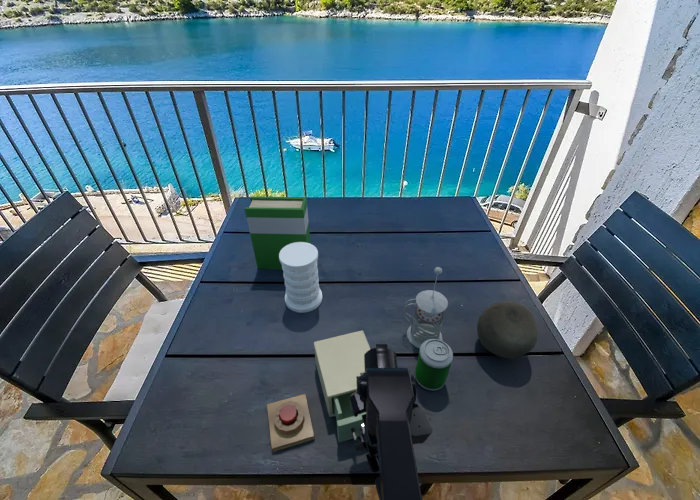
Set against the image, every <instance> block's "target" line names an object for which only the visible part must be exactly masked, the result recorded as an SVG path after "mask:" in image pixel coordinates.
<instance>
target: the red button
mask: <svg viewBox="0 0 700 500" xmlns="http://www.w3.org/2000/svg"><path fill="white" fill-rule="evenodd" d="M280 418H281V421H282V422H283V423H284V424H286V425H289V424H292V423H294V422H295V420H296V419H297V411H296V408H295V407H294V406H293V405H285V406H284V407H283V408H282V409H281V410H280Z"/></svg>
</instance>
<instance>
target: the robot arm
mask: <svg viewBox="0 0 700 500" xmlns="http://www.w3.org/2000/svg"><path fill="white" fill-rule="evenodd" d="M397 359H398V358H397V353H396V351H394V350H393V349H391V348H390V347H388V343H376V344H375V347H373V348H370V350H369V351H367V352H366V353H365V354H364V368H365V373H360V376H356V385H357V392H354V393H353V394H352V395H351V396H350V405H351V409H352V412H353V415H354V417H357V416H358V413H362V412H365V411H366V414H364V415H362V421H363V424H362V427H361V429H360V430H359V435H360V436H359V437H360V441H362V444H363V447H364V448H365V449H364V450H365V451H366V452H367V453H366V454H365V457H366V460H367V463H368V464H367V465H368V467H369V470H370V472H371V473H374V474H375V473H378V472H379V477H377V478H376V479H375V480H374V485H375V491H376V494H377V496H378V500H423V496H422V495H423V494H422V491H421V485H420V478H419V473H418V467H417V462H416V461H417V460H416V454H415V450H414V449H415V448H414V445H416V444H424V443H425V441H427V439H428V438H429V437H430V436H431V435H432V433H433V427H432V425H431V423H430V421H429V419H428V417H427V414H426V412H425V410H424V409H423V408H422V407H421V405H420V403H417V402H416V401H417V384H416V382H417V381H416V378H415V375H413V374H411V371H410V369H409V368H408V367H407V368H406V367H399V366H398V360H397Z"/></svg>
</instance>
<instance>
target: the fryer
mask: <svg viewBox="0 0 700 500" xmlns="http://www.w3.org/2000/svg"><path fill="white" fill-rule="evenodd" d="M313 349H314V358H315V365H316V370H317V373H318V378H319V381H320V386H321V389H322V390H321V391H322V394H323V397H324V401H325V402H324V403H325V406H326V409H327V414H328V417H329V418H332V417H336V416H335V412H334V408H333V405H332V397H336V396H339V395H343V394H346V393H350V392H353V391H357V385H356V376H360V373H365V368H364V354H365V353H366V352H367V351H369V350H370V349H371V347H370V344H369V341H368V339H367V337H366V335H365V332H364V330H357V331H354V332H349V333H344V334H341V335H337V336H333V337H329V338H324V339H320V340H316V341H313Z"/></svg>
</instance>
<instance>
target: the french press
mask: <svg viewBox="0 0 700 500" xmlns="http://www.w3.org/2000/svg"><path fill="white" fill-rule="evenodd" d="M433 273H434V274H435V276H436V277H435V281H434V286H433V290H432V289H426V290H422V291H420V292H418V293H417V294H416V297H415V298H412V299H411V298H410V299H407V301H406V302H405V303H404V308H403V310H402V311H403V312H402V314H403V317H404V319H406V321H408V322H409V323H411V325H409V326H408V329H407V330H406V337H407V339H408V341H409V343H410V344H412V345H413V346H414V347H416V349H417V348H418V349H420V347H421V345H422V344H423V343H424V342H425V341H427V340H430V339H437V340H441V341H443V333H442V332H441V330H442V328H443V323H444V311H446V310H447V308H448V306H449V302H448V299H447V298H446V296H445V295H444V294H442V293H441V292H439V291H436V290H435V289H436V285H437V280H438V275H441V274H442V273H443V269H442V267H440V266H436V267H435V268H434V269H433ZM410 301H415V302H411V303H409V302H410ZM408 303H409V304H408ZM410 305H414V308H415V310H414V313H413V316H411V315H410V314H409V313H408V312H407V309H406V308H407V307H408V306H410ZM406 315H407V316H409V318H412V321H411V320H410V319H408V318H407V317H406Z"/></svg>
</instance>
